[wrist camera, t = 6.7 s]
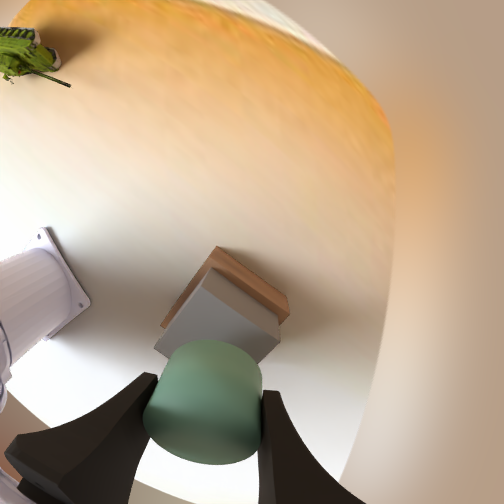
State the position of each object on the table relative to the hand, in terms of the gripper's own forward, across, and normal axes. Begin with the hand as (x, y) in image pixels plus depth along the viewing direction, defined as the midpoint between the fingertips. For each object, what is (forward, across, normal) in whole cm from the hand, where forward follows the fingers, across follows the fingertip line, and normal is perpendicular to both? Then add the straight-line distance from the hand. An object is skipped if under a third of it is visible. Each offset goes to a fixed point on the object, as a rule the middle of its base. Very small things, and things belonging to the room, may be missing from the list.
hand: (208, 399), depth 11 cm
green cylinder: (+1, 0, 0) cm, 1 cm away
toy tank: (+10, +20, -19) cm, 29 cm away
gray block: (+7, 0, 0) cm, 7 cm away
